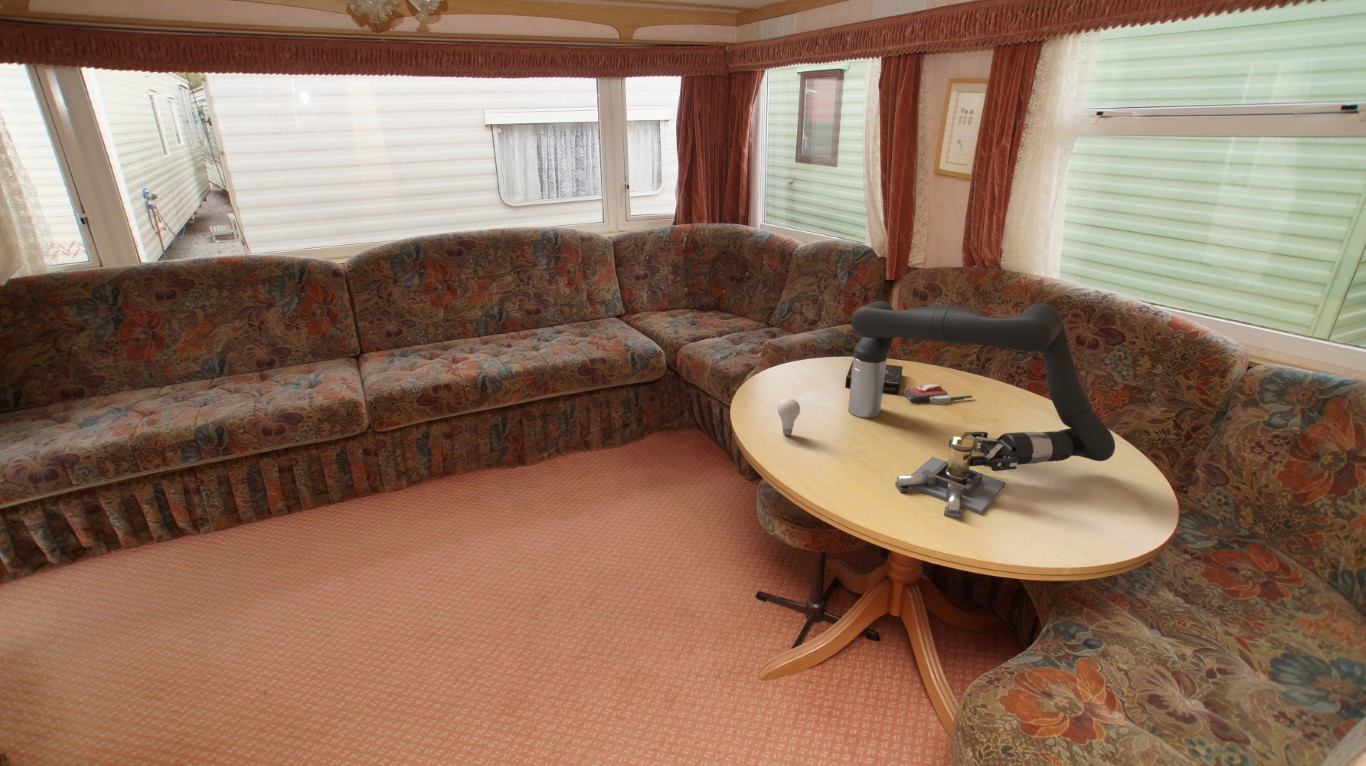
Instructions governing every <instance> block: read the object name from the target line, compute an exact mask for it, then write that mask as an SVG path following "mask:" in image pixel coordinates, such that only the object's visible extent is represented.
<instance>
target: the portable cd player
mask: <svg viewBox="0 0 1366 766" xmlns="http://www.w3.org/2000/svg"><path fill="white" fill-rule="evenodd" d="M852 368H853V360H852V362H851V364H850V365H849V369H848V372H847V375H846V377H845V383H844V384H845V386H844V388H845V389H850V387H851V377H852ZM902 375H903V366H902V365H893V364H887V363H886V370H885V378H884V386H883V394H889V395H896V396H897V395H899V392H900V388H901V387H900V386H901V381H902Z"/></svg>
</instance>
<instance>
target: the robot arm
mask: <svg viewBox="0 0 1366 766" xmlns="http://www.w3.org/2000/svg"><path fill="white" fill-rule="evenodd" d="M850 325H851V328H852V329H853V330H854V332H855V333H856V334H857V335H859V336H860V337H861V338H860V340H859V341H858V342H857V344H856V345H855V347H854V349H853V350H854V351H853V360H852V361H853V368H852V377H851V387H850V388H849V397H848V398H849V399H848V404H847V405H848V406H847V411H848V412H849V413H850V414H851V415H854V416H856V417H859V418H860V417H861V418H864V419H865V418H867V419H869V418H876V417H878V416H879V415H880V414H881V409H882V400H883V394H884V393H883V386H884V378H885V370H886V364H887V361H888V354H889V353H890V350H891V349H892V344H893V339H894V338H901V339H909V340H917V341H928V342H929V341H931V342H936V343H946V344H948V343H949V344H965V345H975V346H977V345H978V346H990V347H995V348H1001V349H1006V350H1012V351H1017V352H1024V353H1025V352H1026V353H1037V352H1040V355H1041V357H1042V359H1043V363H1044V367H1045V372H1046V373H1045V374H1046V380H1047V387H1048V388H1047V389H1048V393H1049V395H1050V398H1051V402H1052V404H1053V406H1054V408H1055V411H1056V413H1057V415H1058V417H1059V419H1060V421H1061V423H1062V424H1063V425H1065V426H1067V427H1068V428H1064V429H1061V430H1058V431H1054V430H1053V431H1023V432H1022V431H1019V432H1006V433H1002V434H1000V436H999V437H997V438H991V437H989V432H987V431H970V432H969V431H968V432H966V431H965V432H963V433H968V434H970V435H972V436H974V438H975V441H974V443H975V446H974V450H973V451H974V452H977V453H981V454H982V455H973V456H972V455H971V456H970V457H968V461H967V464H968V465H969V467H982V466H983V467H986V468H991V469H990V470H991V471H992V472H1001V471H1010V470H1012V471H1013V470H1016V469H1017V466H1019V465H1033V464H1040V463H1048V462H1061V461H1064V460H1067V459H1070V457H1072V456H1073V457H1081V458H1085V459H1087V460H1091V461H1096V462H1105V461H1108V460H1109V459H1111V457H1113V455H1114V454H1115V450H1116V443H1115V438H1114V437H1113V434H1112V433H1111V431H1110V430H1109V428H1108V427H1107V426H1106V424H1105V423H1104V422H1103V420H1102V419H1101V418H1100V416H1098V414H1096V412H1095V411H1094V408H1093V406H1092V404H1091V401H1090V399H1089V397H1088V394H1087V393H1086V391H1085V389H1084V387H1083V383H1082V382H1081V379H1080V376H1079V374H1078V370H1077V368H1076V366H1075V362H1074V359H1073V356H1072V355H1073V354H1072V352H1071V348H1070V345H1069V342H1068V338H1067V332H1066V329H1065V324H1064V321H1063V317H1062V315H1061V313H1060V312H1059V310H1057V308H1055V307H1054V306H1052V305H1051V304H1048V303H1043V302H1041V303H1040V302H1037V303H1034V304H1031V305H1029V306H1028V307H1027V308H1025V309H1024V310H1023V311H1022V312H1021V313H1020V314H1019V315H1018V316H1014V317H989V316H986V315H982V314H980V313H978V312H976V311H973V310H970V309H969V308H965V307H962V306H956V305H955V306H954V305H953V306H952V305H951V306H950V305H930V306H922V307H914V308H909V309H908V308H907V309H900V310H899V309H897V310H896V309H894V308H893V306H892V305H891V304H890V303H889V302H887V301H883V300H877V301H874V302H870V303H867V304H865V305H862V306H860V307H859V308H857V309H856V310H855V311H854V312H853V314H852V316H851V319H850ZM952 439H953V438H950V439H949V442H948V446H949V449H951V440H952ZM979 444H980V446H979ZM999 464H1000V465H999Z"/></svg>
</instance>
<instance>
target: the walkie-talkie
mask: <svg viewBox="0 0 1366 766" xmlns="http://www.w3.org/2000/svg"><path fill="white" fill-rule="evenodd" d="M903 397H905V399H907V400H908V401H909V402H910V403H912V404H917V405H918V404H924V403H925V404H927V403H929V404H933V405H943V404H944V405H945V404H951V402H952V401H960V400H961V401H962V400H965V399H972V398H973V396H972V395H971V394H970V395H961V396H960V395H959V396H949V395H948V391H946V390H945V389H943V388H942V386H940V385H939V384H938V383H932V384H931V383H930V384H929V383H927V384H925V385H923V386H916V387H910V388H909V387H908V388H905V389H904V395H903Z"/></svg>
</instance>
